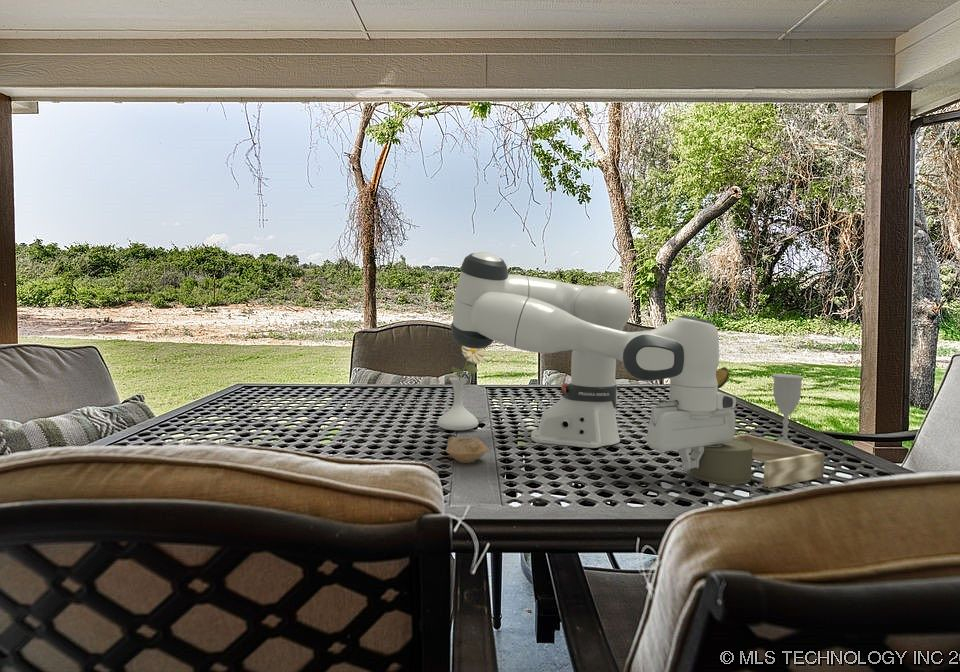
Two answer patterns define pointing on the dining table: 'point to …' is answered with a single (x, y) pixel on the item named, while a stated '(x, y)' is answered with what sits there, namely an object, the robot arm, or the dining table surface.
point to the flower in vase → (457, 413)
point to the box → (785, 461)
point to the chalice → (786, 398)
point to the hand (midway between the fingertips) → (690, 468)
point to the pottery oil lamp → (465, 449)
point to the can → (725, 463)
